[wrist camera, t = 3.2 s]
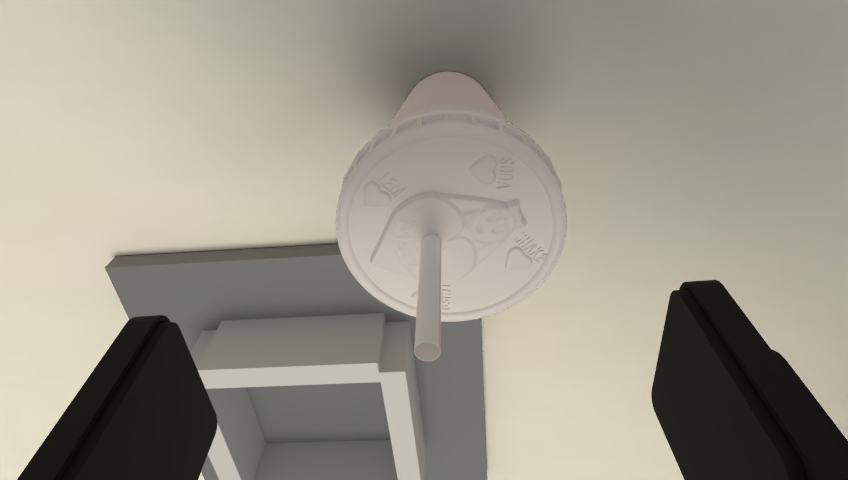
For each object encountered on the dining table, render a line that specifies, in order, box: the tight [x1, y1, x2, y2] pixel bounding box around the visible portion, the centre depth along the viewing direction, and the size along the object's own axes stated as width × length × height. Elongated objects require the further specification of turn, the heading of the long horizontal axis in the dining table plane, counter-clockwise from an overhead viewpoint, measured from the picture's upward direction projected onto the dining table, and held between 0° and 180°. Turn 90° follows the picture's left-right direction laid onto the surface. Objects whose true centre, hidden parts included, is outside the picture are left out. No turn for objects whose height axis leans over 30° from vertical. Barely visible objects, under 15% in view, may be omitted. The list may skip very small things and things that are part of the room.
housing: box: [105, 244, 487, 480], centre depth 30 cm, size 18×18×4 cm
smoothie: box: [336, 72, 567, 361], centre depth 17 cm, size 6×6×14 cm
